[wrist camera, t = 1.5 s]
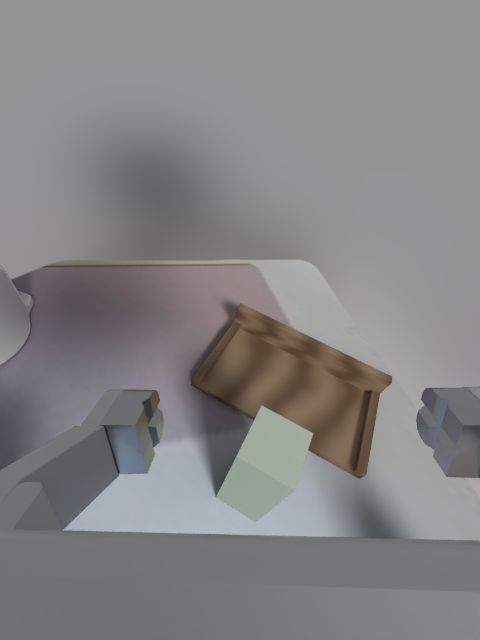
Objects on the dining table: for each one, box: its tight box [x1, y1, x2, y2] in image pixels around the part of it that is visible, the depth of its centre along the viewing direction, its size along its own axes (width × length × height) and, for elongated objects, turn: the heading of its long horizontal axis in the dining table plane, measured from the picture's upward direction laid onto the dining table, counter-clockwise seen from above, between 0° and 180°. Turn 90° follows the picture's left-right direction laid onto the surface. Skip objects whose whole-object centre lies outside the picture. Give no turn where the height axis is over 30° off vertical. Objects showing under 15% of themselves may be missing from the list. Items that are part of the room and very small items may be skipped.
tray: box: [191, 304, 392, 479], centre depth 43 cm, size 25×14×5 cm, turn 63°
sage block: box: [216, 405, 313, 522], centre depth 30 cm, size 5×5×14 cm
